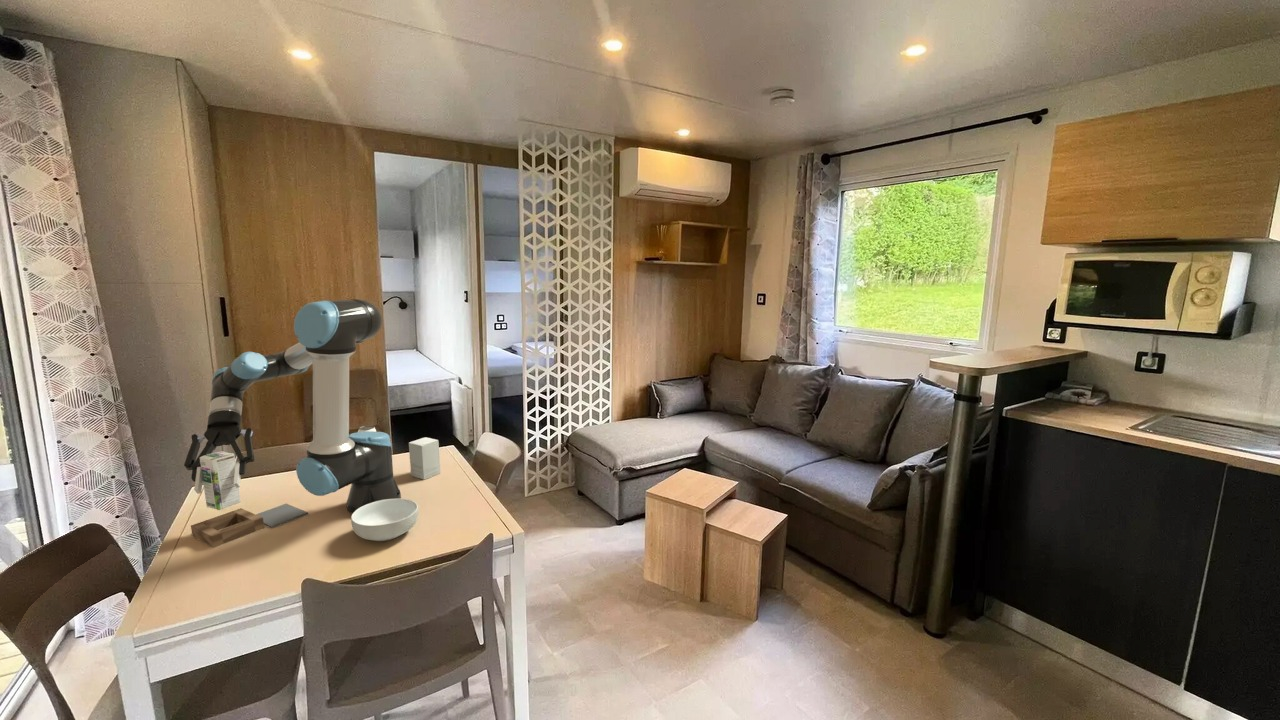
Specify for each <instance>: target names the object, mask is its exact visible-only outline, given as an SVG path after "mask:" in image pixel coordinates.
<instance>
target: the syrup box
mask: <svg viewBox="0 0 1280 720" xmlns="http://www.w3.org/2000/svg"><path fill="white" fill-rule="evenodd" d="M200 464H201V471H202V478H203V483H202V486H203V490H204V497H205V503H206V508H209V509H213V510H217V511H220V510H224V509H226V508H229V507H232V506H234V505H236V504H239V503H241V502H242V500H241V495H240V494H241V493H240V487H239V488H236V486H235V485H234V475H235V464H236V457H235V452H233V453H231V452H226V451H222V450H221V451H216V452H212V453H211V454H207V455H204V456H202V457H200Z"/></svg>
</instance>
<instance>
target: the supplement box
mask: <svg viewBox="0 0 1280 720" xmlns="http://www.w3.org/2000/svg"><path fill="white" fill-rule="evenodd" d="M439 445H440V443H439V439H435V438H431V437H421V438H419V439H416V440H412V441H410V442H408V451H409V463H410V465H409V466H410V467H409V468H410V476H411V477H414V478H417V479H420V480H426V479H430V478H432V477H435V476H438V475H441V459H440V447H439Z"/></svg>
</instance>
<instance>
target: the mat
mask: <svg viewBox="0 0 1280 720" xmlns="http://www.w3.org/2000/svg"><path fill="white" fill-rule="evenodd" d="M255 514H256V515H258V516H260V517H262V518H263V522H264V527H265V526H266V527H268V528H270V529H274V528H278V527H279V526H281V525H284V524H288V523H290V522H293V521H295V520H298V519H300V518H302V517H304V516H308V515H309V511H307V510H303V509H301V508H299V507H296V506H293V505H290V504H288V503H284V504H281V505H279V506H275V507H273V508H270V509H267V510H264V511H262V512H259V513H255Z"/></svg>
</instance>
